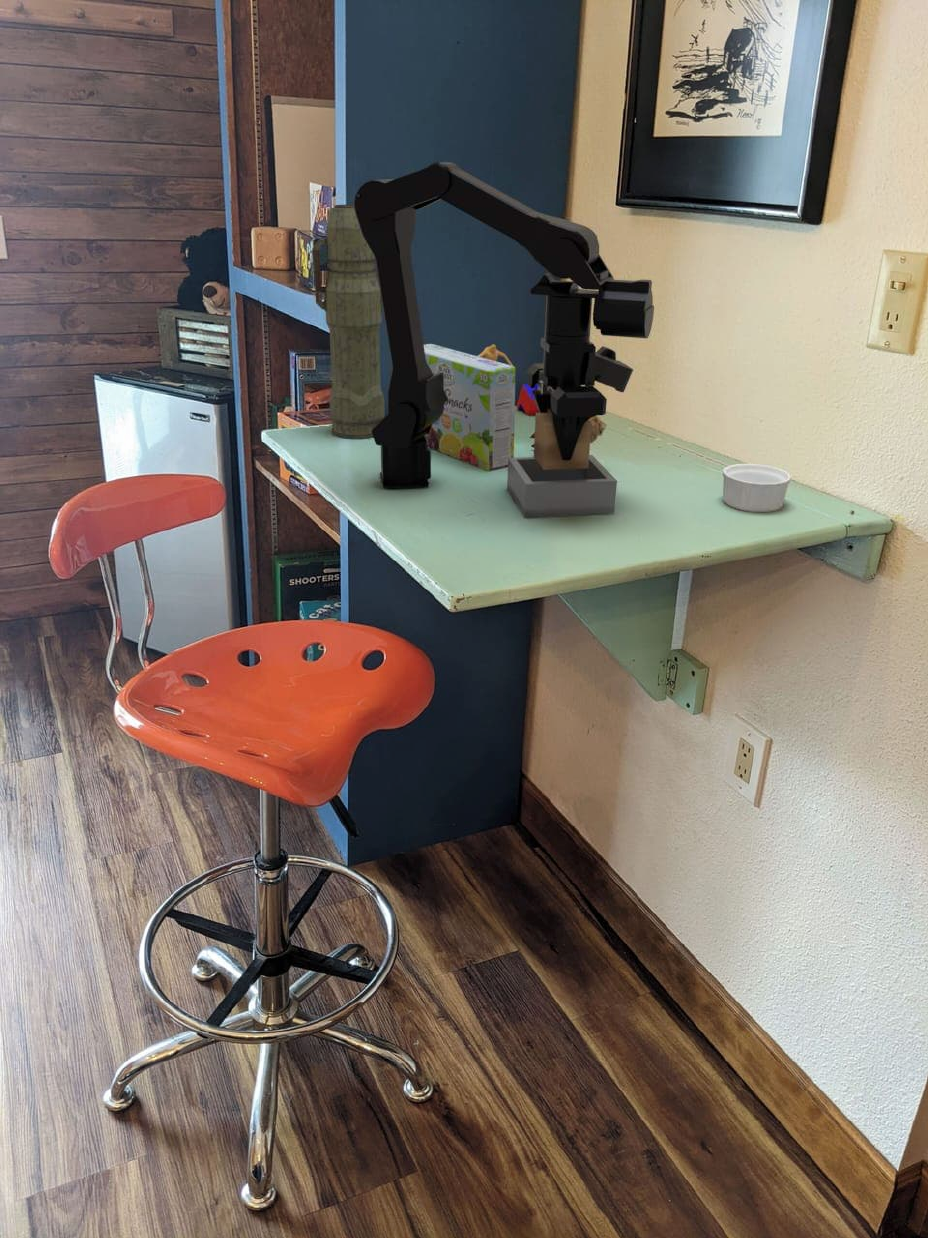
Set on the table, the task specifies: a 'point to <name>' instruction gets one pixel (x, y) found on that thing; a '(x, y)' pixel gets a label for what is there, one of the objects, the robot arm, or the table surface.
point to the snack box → (474, 408)
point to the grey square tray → (560, 489)
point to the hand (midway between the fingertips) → (560, 453)
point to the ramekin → (755, 487)
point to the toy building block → (527, 400)
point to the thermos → (351, 325)
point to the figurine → (493, 354)
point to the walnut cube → (549, 450)
